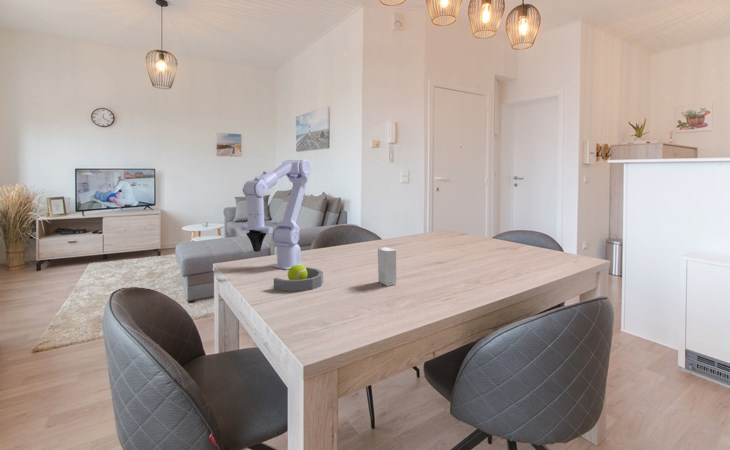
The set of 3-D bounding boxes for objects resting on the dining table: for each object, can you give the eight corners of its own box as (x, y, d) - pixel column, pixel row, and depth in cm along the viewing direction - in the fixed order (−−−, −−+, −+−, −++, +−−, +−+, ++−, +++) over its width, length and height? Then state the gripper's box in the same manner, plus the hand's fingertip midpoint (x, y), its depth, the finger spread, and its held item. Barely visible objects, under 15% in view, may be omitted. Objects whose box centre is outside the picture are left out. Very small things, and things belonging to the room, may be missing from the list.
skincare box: (396, 284, 128) (397, 250, 126) (385, 286, 126) (386, 251, 124) (388, 280, 133) (388, 246, 132) (377, 281, 131) (377, 247, 130)
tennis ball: (300, 279, 133) (300, 261, 132) (311, 284, 128) (311, 265, 127) (284, 283, 128) (283, 264, 128) (294, 288, 124) (294, 268, 123)
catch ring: (308, 276, 137) (308, 267, 137) (332, 281, 131) (332, 271, 131) (273, 289, 122) (273, 278, 122) (299, 294, 117) (299, 284, 116)
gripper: (233, 213, 134) (234, 250, 136) (261, 216, 127) (263, 255, 129) (248, 212, 140) (249, 247, 142) (276, 214, 133) (277, 252, 135)
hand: (257, 251), depth 136 cm, fingers closed
